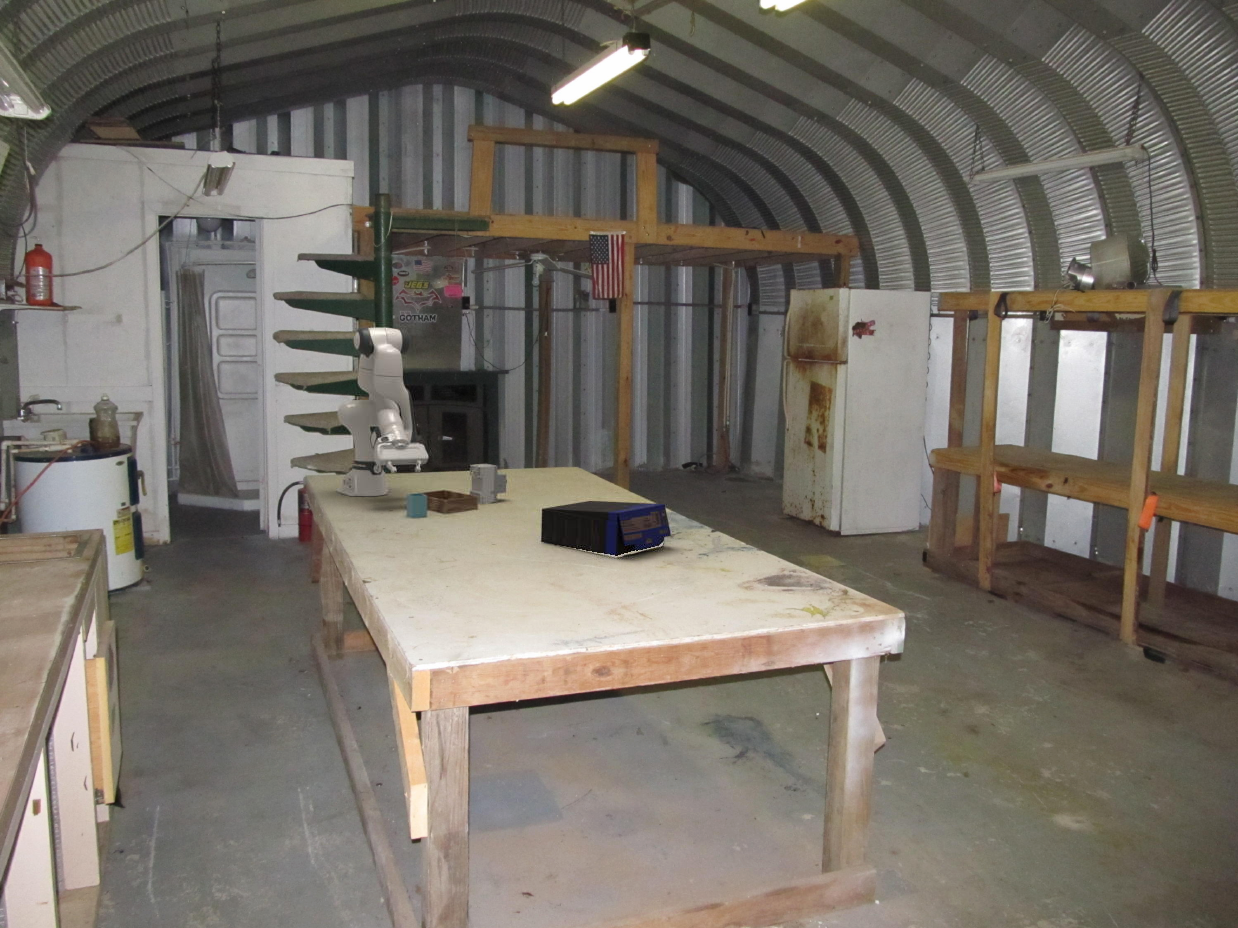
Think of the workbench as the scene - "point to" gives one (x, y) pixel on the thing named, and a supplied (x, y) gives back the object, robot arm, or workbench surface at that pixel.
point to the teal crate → (416, 505)
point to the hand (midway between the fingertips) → (406, 471)
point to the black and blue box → (605, 526)
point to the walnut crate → (450, 501)
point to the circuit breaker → (487, 482)
